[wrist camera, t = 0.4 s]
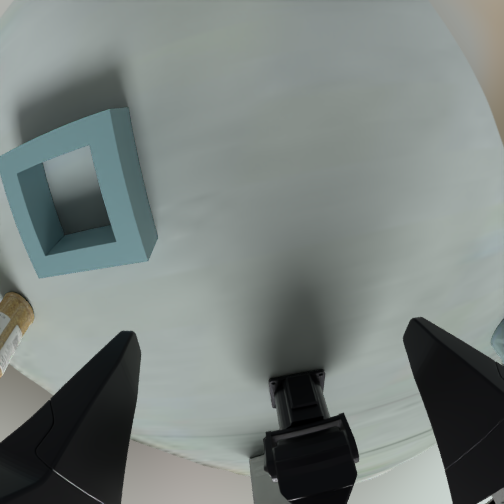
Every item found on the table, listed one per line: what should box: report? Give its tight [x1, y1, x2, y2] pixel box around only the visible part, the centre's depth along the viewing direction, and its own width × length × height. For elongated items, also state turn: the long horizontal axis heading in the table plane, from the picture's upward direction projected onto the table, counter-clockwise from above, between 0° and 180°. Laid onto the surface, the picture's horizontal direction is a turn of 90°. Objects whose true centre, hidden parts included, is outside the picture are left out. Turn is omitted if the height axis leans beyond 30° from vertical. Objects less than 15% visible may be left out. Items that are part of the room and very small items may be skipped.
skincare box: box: [249, 455, 291, 504], centre depth 37 cm, size 8×7×16 cm
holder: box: [0, 107, 158, 278], centre depth 17 cm, size 10×10×4 cm
